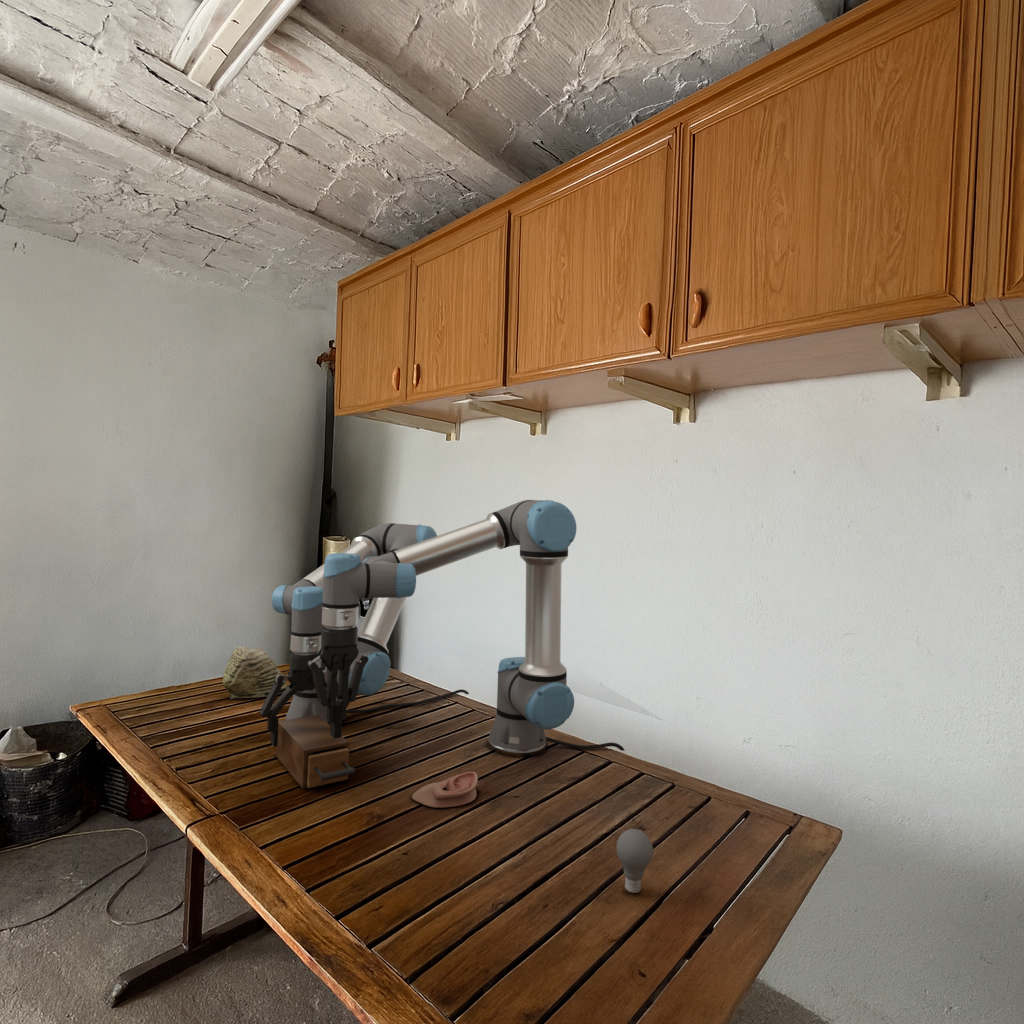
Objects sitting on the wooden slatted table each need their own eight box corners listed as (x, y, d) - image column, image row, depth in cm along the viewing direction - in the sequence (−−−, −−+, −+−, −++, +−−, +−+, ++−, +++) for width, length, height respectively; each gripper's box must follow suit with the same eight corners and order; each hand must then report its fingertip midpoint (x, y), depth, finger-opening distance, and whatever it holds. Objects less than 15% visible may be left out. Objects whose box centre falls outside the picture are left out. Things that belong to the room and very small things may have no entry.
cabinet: (347, 779, 143) (348, 741, 142) (302, 789, 137) (304, 750, 137) (316, 747, 159) (318, 714, 159) (276, 755, 153) (277, 721, 153)
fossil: (218, 695, 195) (220, 647, 195) (278, 685, 208) (279, 640, 207) (228, 703, 189) (230, 653, 188) (289, 692, 201) (290, 645, 201)
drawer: (358, 789, 136) (359, 758, 136) (317, 799, 131) (318, 767, 131) (318, 749, 156) (319, 722, 156) (282, 756, 151) (283, 728, 151)
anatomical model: (407, 784, 132) (425, 763, 143) (406, 803, 132) (424, 780, 143) (468, 793, 129) (482, 770, 140) (467, 812, 129) (481, 788, 141)
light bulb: (610, 879, 108) (613, 822, 108) (644, 879, 109) (647, 822, 109) (619, 902, 102) (622, 840, 102) (655, 901, 103) (658, 840, 103)
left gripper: (256, 660, 142) (252, 754, 142) (361, 649, 157) (358, 735, 157) (248, 653, 148) (244, 743, 148) (350, 643, 163) (346, 725, 163)
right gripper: (315, 632, 128) (311, 747, 129) (375, 626, 136) (371, 736, 136) (303, 625, 134) (299, 735, 135) (362, 620, 142) (357, 725, 142)
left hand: (303, 739), depth 153 cm, fingers open, 13 cm apart
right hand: (335, 735), depth 135 cm, fingers closed
